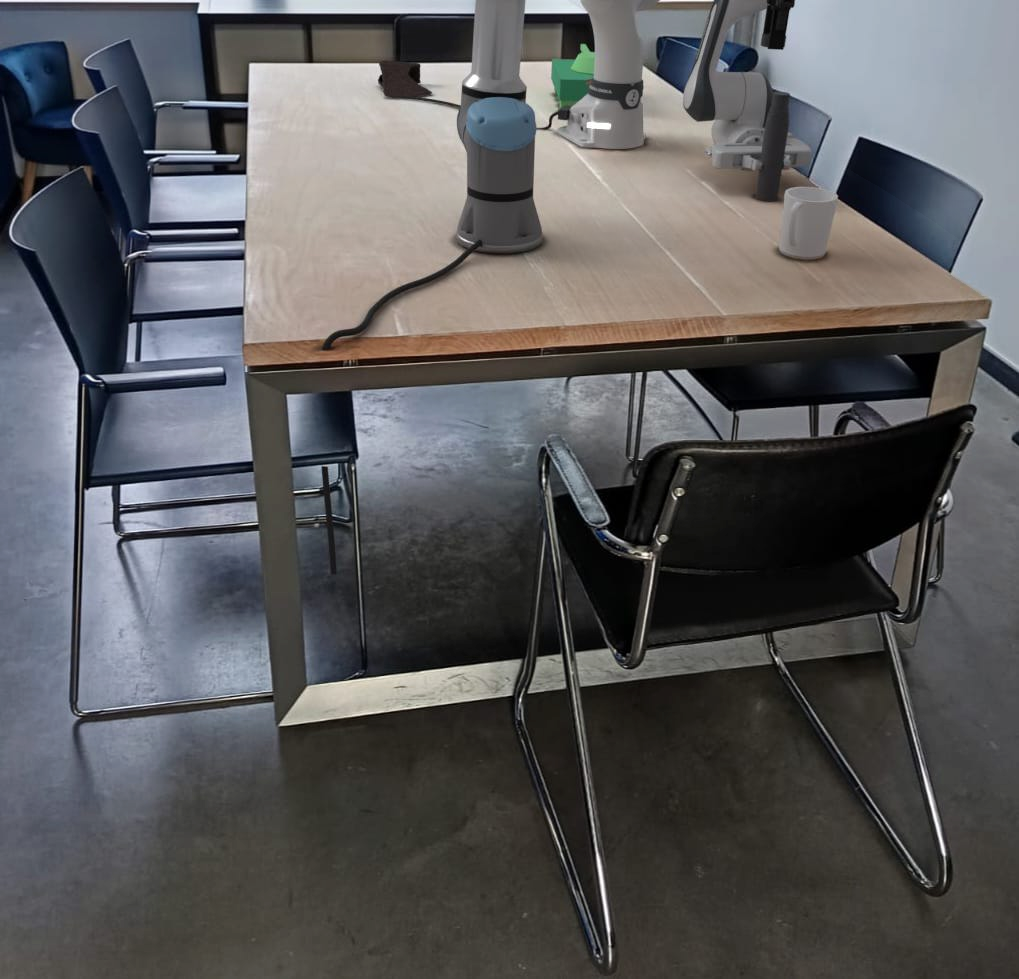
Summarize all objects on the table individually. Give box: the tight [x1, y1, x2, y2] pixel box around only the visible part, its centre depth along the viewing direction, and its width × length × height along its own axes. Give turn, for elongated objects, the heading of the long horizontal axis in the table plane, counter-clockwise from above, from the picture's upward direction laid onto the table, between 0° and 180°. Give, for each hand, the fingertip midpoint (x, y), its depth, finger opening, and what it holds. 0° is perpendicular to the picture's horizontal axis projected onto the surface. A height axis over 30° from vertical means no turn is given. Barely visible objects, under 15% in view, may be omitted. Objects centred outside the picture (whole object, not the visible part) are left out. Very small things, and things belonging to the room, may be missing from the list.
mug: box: [778, 186, 839, 261], centre depth 190 cm, size 11×9×10 cm
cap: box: [760, 33, 787, 48], centre depth 197 cm, size 4×4×2 cm
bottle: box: [754, 91, 791, 202], centre depth 216 cm, size 4×4×20 cm
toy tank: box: [550, 43, 595, 109], centre depth 292 cm, size 18×12×35 cm
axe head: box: [377, 59, 433, 99], centre depth 299 cm, size 18×8×15 cm
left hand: (772, 46), depth 198 cm, fingers closed on cap, 4 cm apart
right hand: (773, 166), depth 217 cm, fingers closed on bottle, 4 cm apart
